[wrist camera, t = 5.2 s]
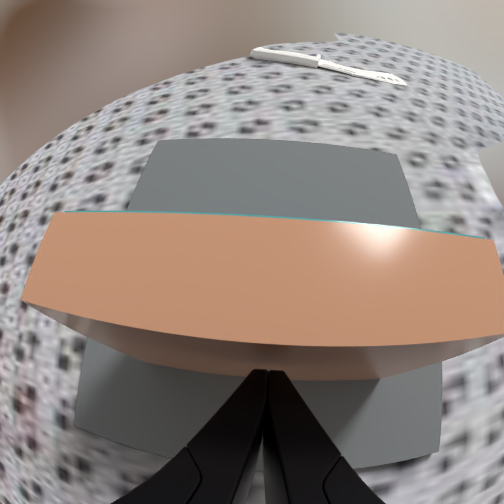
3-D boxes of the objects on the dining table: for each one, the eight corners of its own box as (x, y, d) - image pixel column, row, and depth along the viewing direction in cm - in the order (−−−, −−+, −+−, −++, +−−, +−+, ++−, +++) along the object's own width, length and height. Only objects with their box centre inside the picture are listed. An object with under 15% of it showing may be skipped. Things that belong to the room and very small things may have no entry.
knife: (430, 91, 34) (433, 84, 33) (442, 107, 31) (446, 100, 30) (252, 54, 36) (252, 45, 35) (247, 65, 33) (247, 55, 32)
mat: (433, 450, 11) (438, 451, 10) (79, 425, 12) (74, 425, 12) (394, 159, 23) (396, 154, 22) (159, 145, 24) (158, 140, 23)
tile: (380, 378, 13) (514, 331, 4) (147, 362, 14) (20, 299, 5) (379, 328, 15) (491, 234, 6) (156, 313, 16) (57, 207, 7)
